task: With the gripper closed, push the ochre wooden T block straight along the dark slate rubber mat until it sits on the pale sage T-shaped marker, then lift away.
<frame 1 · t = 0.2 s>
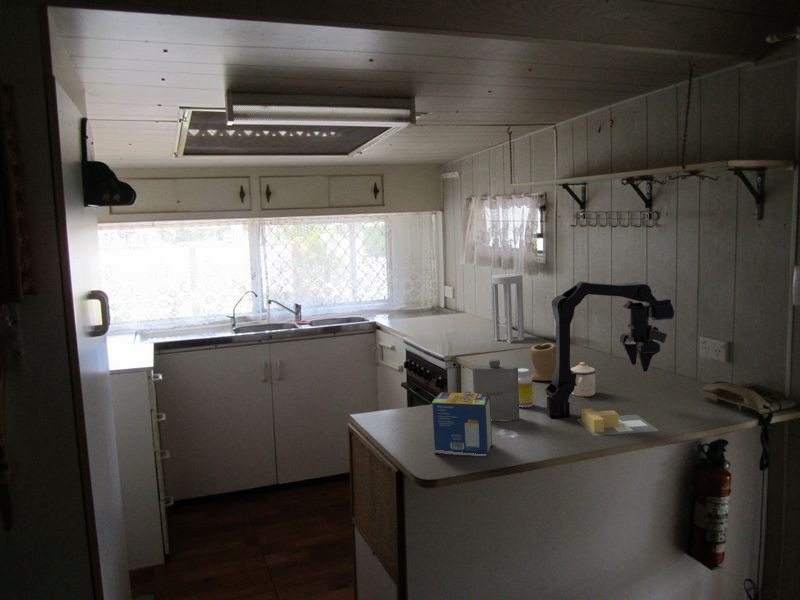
hand: (639, 368, 208), 14 cm above the worktop, tool pointing down, fingers open, 9 cm apart
stool: (508, 340, 336), on the worktop
supplement bottle: (523, 406, 222), on the worktop
flask: (496, 419, 210), on the worktop
stone cup: (549, 381, 253), on the worktop
protein box: (463, 449, 184), on the worktop
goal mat: (616, 425, 197), on the worktop
t block: (602, 425, 196), resting on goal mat
teacup with lid: (582, 395, 231), on the worktop
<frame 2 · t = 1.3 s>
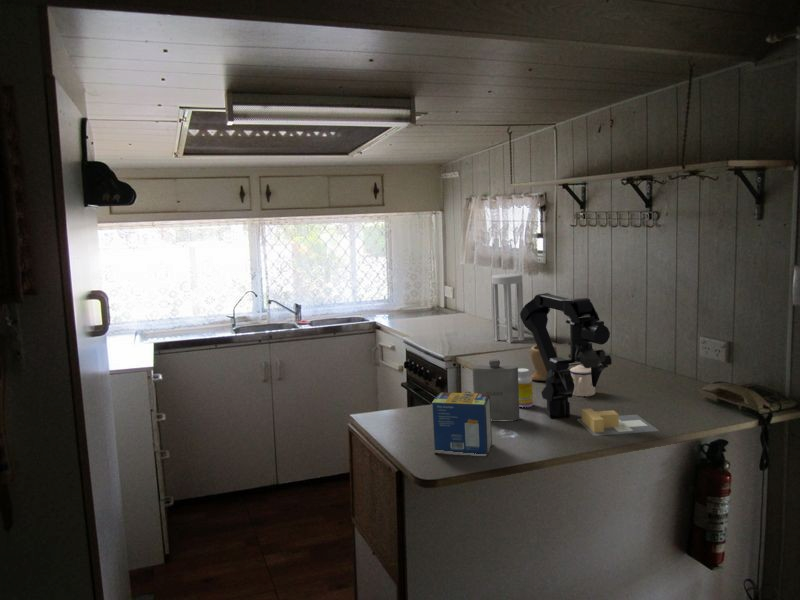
hand: (580, 388, 196), 12 cm above the worktop, tool pointing down, fingers open, 9 cm apart
nothing on the worktop moved.
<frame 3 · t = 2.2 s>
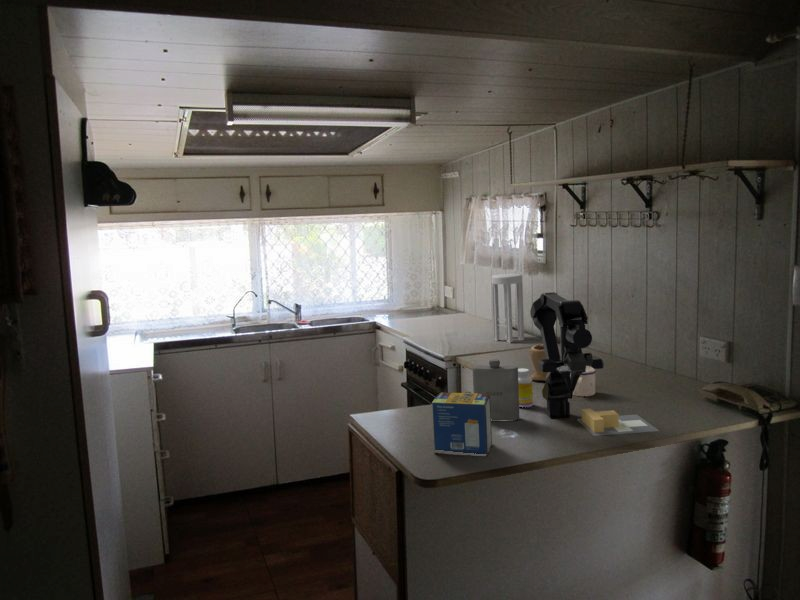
hand: (571, 391, 194), 12 cm above the worktop, tool pointing down, fingers closed
nothing on the worktop moved.
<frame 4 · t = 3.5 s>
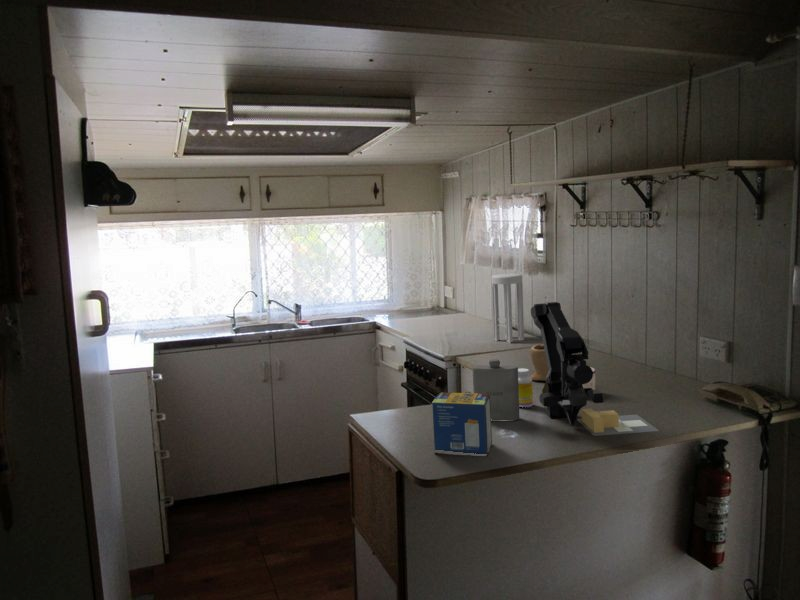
hand: (572, 424, 196), 1 cm above the worktop, tool pointing down, fingers closed
nothing on the worktop moved.
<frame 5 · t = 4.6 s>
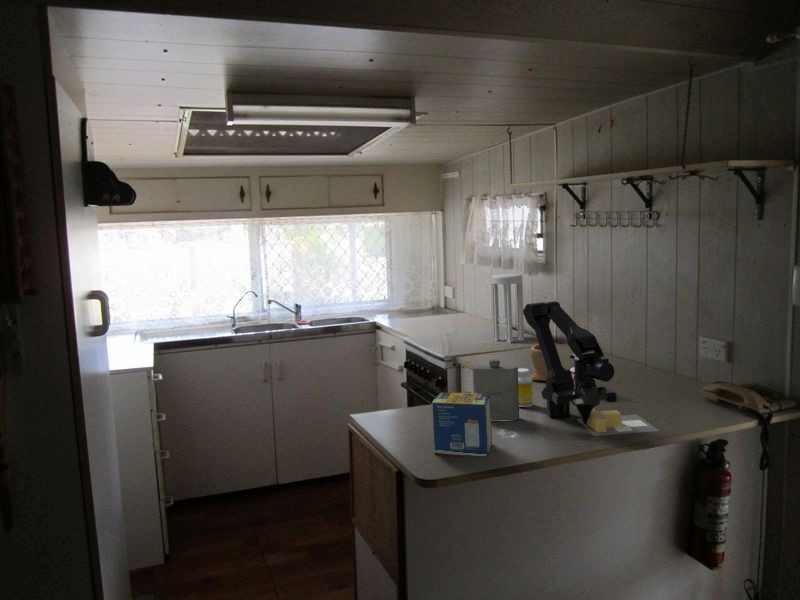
hand: (584, 423, 196), 1 cm above the worktop, tool pointing down, fingers closed
t block: (604, 425, 196), resting on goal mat, touching gripper
everything else where it was.
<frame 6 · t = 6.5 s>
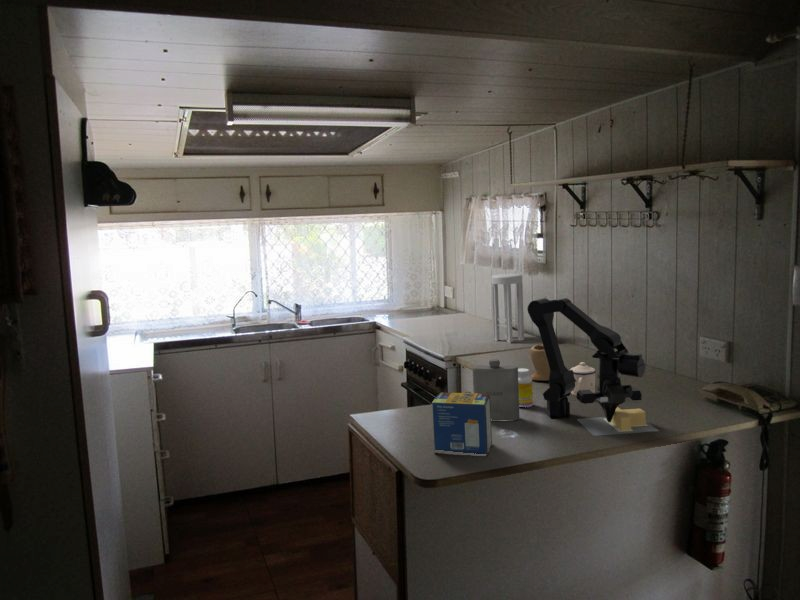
hand: (609, 421, 196), 1 cm above the worktop, tool pointing down, fingers closed
t block: (628, 423, 197), resting on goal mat, touching gripper
everything else where it was.
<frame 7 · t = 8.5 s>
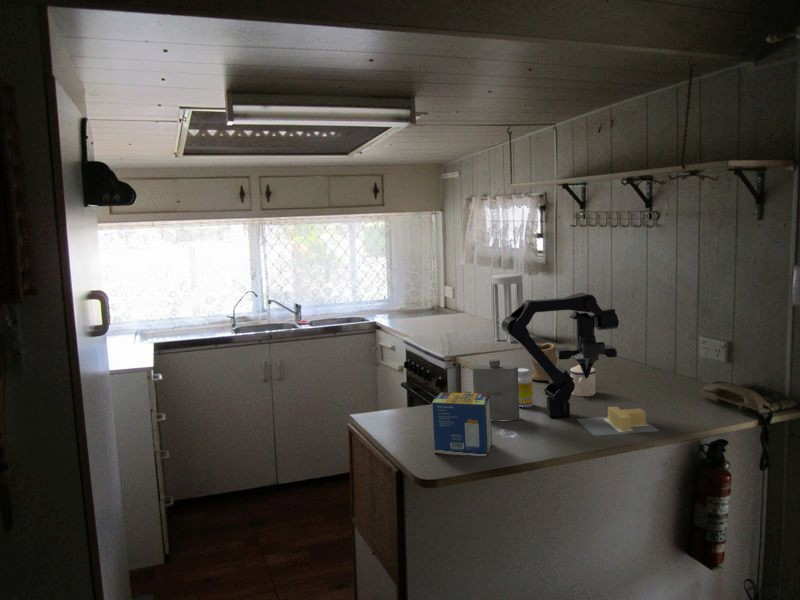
hand: (586, 377, 209), 12 cm above the worktop, tool pointing down, fingers closed
t block: (628, 423, 197), resting on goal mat
everything else where it was.
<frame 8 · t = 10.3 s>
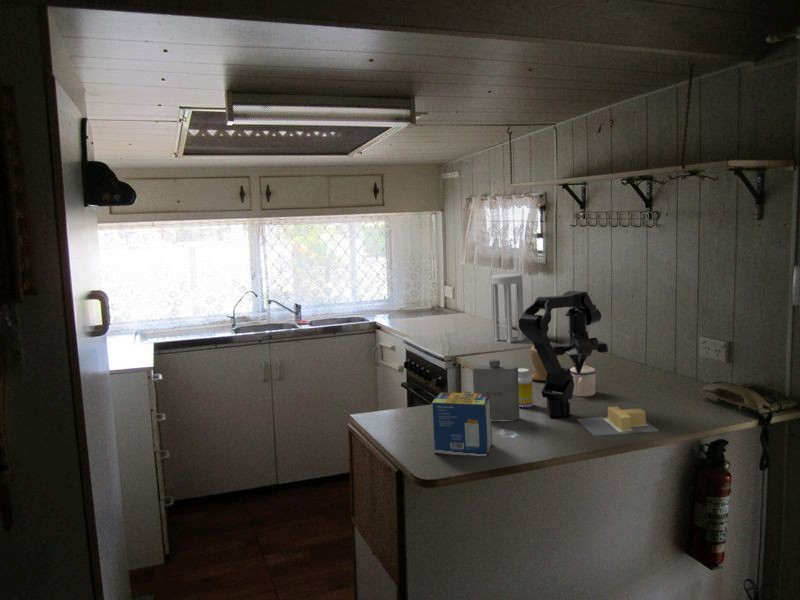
hand: (578, 372, 216), 12 cm above the worktop, tool pointing down, fingers closed
nothing on the worktop moved.
at the end: t block 0.2 cm from the target spot, resting on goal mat; t block tilted 0° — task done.
